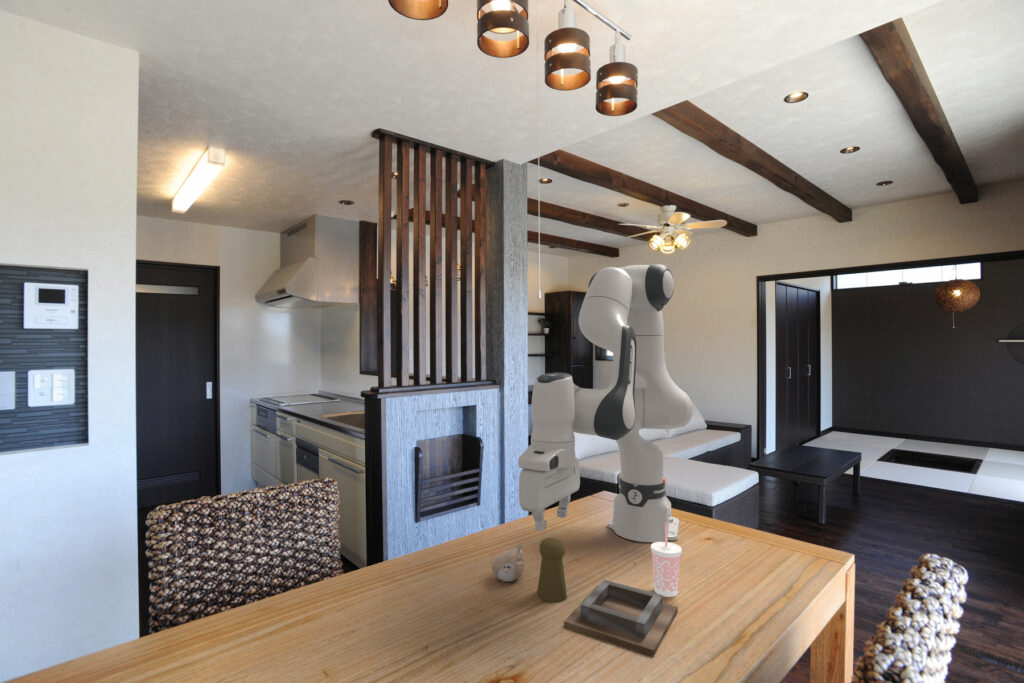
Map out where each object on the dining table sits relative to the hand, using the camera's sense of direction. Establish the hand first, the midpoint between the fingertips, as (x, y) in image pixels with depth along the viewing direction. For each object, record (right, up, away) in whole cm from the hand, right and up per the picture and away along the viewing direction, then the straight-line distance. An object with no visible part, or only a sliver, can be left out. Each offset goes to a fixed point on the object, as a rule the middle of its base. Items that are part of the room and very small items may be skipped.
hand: (551, 523), depth 100 cm
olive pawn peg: (0, -15, 0) cm, 15 cm away
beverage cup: (+24, -15, +2) cm, 28 cm away
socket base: (+12, -15, -8) cm, 21 cm away
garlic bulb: (-9, -15, +7) cm, 19 cm away
